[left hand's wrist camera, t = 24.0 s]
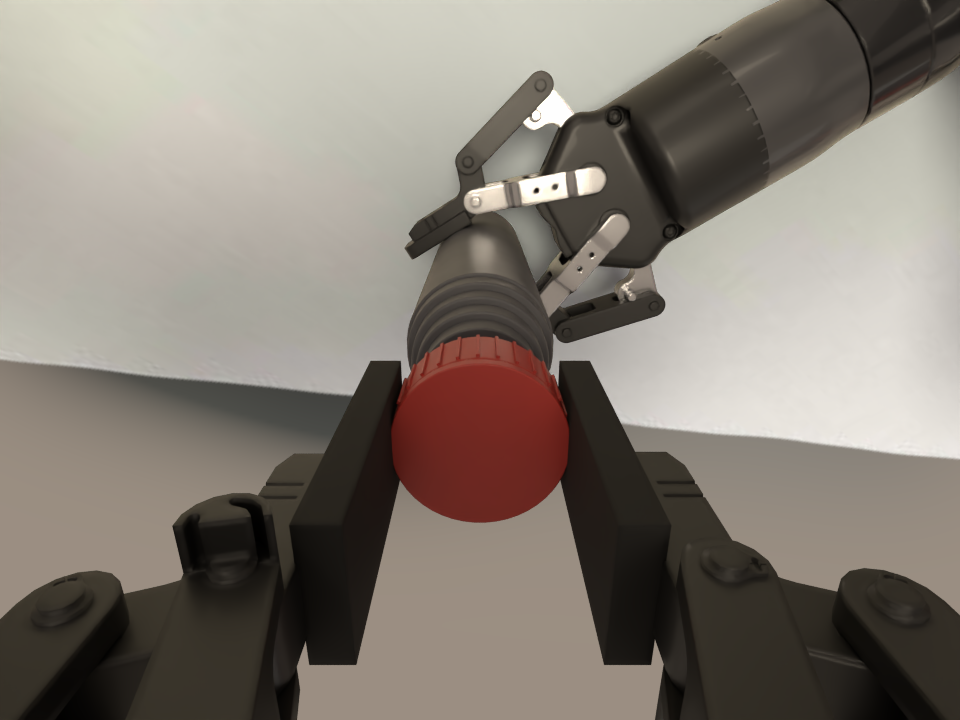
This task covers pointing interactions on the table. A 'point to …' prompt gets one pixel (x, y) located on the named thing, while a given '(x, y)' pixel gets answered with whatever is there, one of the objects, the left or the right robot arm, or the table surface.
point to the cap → (480, 430)
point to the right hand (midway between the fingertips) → (439, 295)
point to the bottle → (480, 293)
